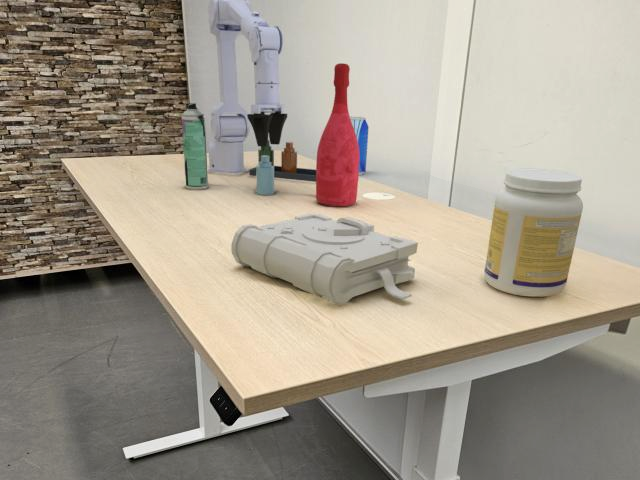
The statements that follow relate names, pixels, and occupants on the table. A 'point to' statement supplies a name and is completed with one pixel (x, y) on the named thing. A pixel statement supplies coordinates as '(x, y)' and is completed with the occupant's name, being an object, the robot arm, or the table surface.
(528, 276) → the supplement tub
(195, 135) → the spray can
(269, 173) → the blue bottle
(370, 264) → the book
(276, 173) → the tray
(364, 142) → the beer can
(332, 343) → the table surface
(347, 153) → the wine bottle
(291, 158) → the bottle row
